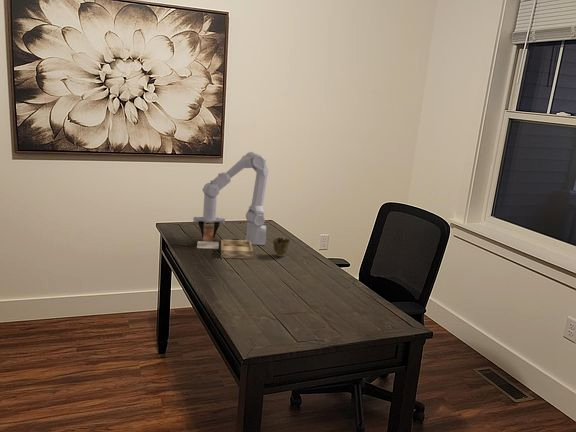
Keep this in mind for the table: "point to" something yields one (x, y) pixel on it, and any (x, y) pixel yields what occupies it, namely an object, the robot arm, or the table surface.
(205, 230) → the terracotta block
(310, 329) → the table surface
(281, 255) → the cup
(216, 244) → the grey mat
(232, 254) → the organiser box
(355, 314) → the table surface
